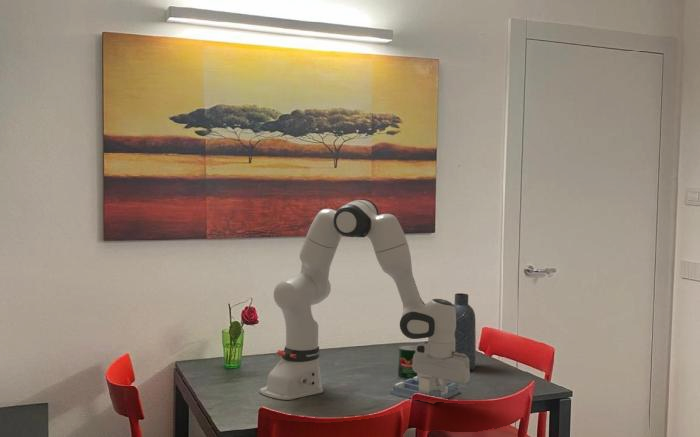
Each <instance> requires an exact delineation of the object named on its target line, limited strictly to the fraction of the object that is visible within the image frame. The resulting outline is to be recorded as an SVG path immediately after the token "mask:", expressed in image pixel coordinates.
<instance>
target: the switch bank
mask: <svg viewBox="0 0 700 437" xmlns="http://www.w3.org/2000/svg"><path fill="white" fill-rule="evenodd" d="M458 385H459V384H458V382H451V381H449V382H448V383H447V385H446V386H445V391H444V392H441V391H436V390H435V391H433V392H430V394H427V393H423V392H419V380H417V376H416V377H413V379H412V378H410V379H408V380H405V379H404V380H403V381H399V382H398V383H397V382H396V383H394V385H393V386H392V389H390V394H391V395H394V396H399V397H403V398H406V399H410V398H411V396H412V395H413V394H414V393H421V394H425V395H429V396H435V397H442V398H446V399H449V398H451V397H453V396H455V395H458V394H460V393H461V388H458V387H459V386H458Z"/></svg>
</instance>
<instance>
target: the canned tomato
mask: <svg viewBox="0 0 700 437" xmlns="http://www.w3.org/2000/svg"><path fill="white" fill-rule="evenodd" d="M416 345H417V344H416ZM416 345H415V344H401V345H399V346H398V364H397V365H398V366H397V378H398V379H401V380H404V381H405V380H408V379H410V378H412V379H413V377H416V376H417V373H415V372H414V371H413V368H412V364H413V356H414V353H415V346H416Z"/></svg>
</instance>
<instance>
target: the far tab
mask: <svg viewBox="0 0 700 437" xmlns="http://www.w3.org/2000/svg"><path fill="white" fill-rule="evenodd" d="M422 376H428V375H424V374H420V373H417V380H419V377H422Z"/></svg>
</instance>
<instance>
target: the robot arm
mask: <svg viewBox="0 0 700 437" xmlns="http://www.w3.org/2000/svg"><path fill="white" fill-rule="evenodd" d="M343 236H344V237H346V238H347V237H348V238H366V237H368V238H369V240H370V242H371V245H372V248H373V251H374V253H375V254H374V255H375V256H376V260H377V262H378V265H379V266H380V267H381V270H382V272H384V273H385V274H387V275H388V276H390V278H392V280H393V281H394V284H395V286H396V288H397V291H398V294H399V296H400V300H401V302H402V314H401V315H402V316H401V318H400V319H399V320H400V321H399V329H400V332H402V335H404V336H405V337H406V338H408V339H412V340H420V339H425V338H426V339H427V338H428V339H427V341H426V342H422V343H419V344H416V346H415V353H414V356H413V364H412V368H413V371H414V372H415V373H420V374H424V375H428V376H432V380H433V382H434V385H435V390H436V391H441V392H444V391H445V386H446V385H447V383H448V382H451V381H452V382H453V383H459V384H466V383H467V382H469V380H470V379H471V373H470V372H471V370H470V369H469V358H468V357H467V356H466V354H463V353H462V354H461V353H458V352H455V336H454V333H455V329H456V311H455V307H454V305H453V304H454V303H452V302H451V301H449V300H447V299H442V298H433V299H432V300H430V301H429V302H428V303H425V302H424V301H423V299H422V298H421V295H420V293H419V290H418V287H417V284H416V281H415V278H414V274H413V266H412V265H413V264H412V258H411V257H412V255H411V252H410V247H409V244H408V241H407V238H406V235H405V232H404V229H403V228H402V225H401V224H400V222H399V220H398V218H397V217H396V216H395V215H393V214H392V213H381V214H380V212H379V208H378V206H377V205H376V204H375V202H373V201H372V200H369V199H365V198H359V199H356V200H352V201H349V202H347V203H346V204H344V205H342V206H340V207H339V208H337V210H335V209H331V208H323V209H321V210H320V211H318V213H317V214H316V215H315V217H314V218H313V220H312V222H311V224H310V227H309V229H308V231H307V233H306V236H305V238H304V239H305V240H304V241H303V244H302V247H301V250H300V252H299V260H300V261H301V269H300V272H299V274H297V275H296V276H291V277H287V278H285V279H283V280H282V281H280V282H279V283H278V284H277V285H276V286H275V287H274V290H273V299H274V302H275V304H276V305H277V307H279V308H280V310H281V311H282V315H283V318H284V323H285V339H286V340H285V346H284V349H283V350H282V349H278V350H277V351H276V355H277V356H279V357H281V360H279V362H277V364H276V365H275V367H273V369H272V370H271V371H270V372H269V374H268V375H267V380H266V386H263V387H261V388H259V393H260V394H261V395H263V396H266V397H268V398H269V397H270V398H273V399H275V400H276V399H277V400H284V401H285V400H286V401H288V400H289V401H290V400H295V399H299V398H303V397H308V396H312V395H317V394H321V393H324V388H323V385H322V384H323V383H322V376H321V375H322V374H321V367H320V363H319V358H320V353H321V352H320V346H319V324H318V322H317V321H316V320H315V319H314V316H313V313H312V306H314V305H317V304H319V303H321V302H323V301H324V300H325V299H326V298H328V297H329V295H330V293H331V282H330V280H329V279H330V278H329V276H330V268H331V265H332V263H333V260H334V257H335V254H336V252H337V250H338V247H339V243H340V241H341V239H342V237H343ZM466 357H467V358H466ZM439 378H441V379H442V382H443V384H442V385H440V384H439V381H438V379H439Z"/></svg>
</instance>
